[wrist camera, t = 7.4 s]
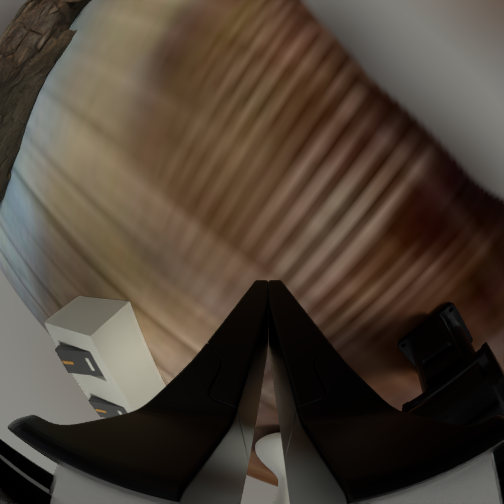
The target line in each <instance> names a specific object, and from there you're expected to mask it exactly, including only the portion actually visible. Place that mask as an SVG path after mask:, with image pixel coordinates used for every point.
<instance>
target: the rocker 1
mask: <svg viewBox="0 0 504 504" xmlns="http://www.w3.org/2000/svg"><path fill="white" fill-rule="evenodd" d="M55 351H56V352H57V354H58V356H59V358H60V359H61V361H62V363H63V365H64V366H65V368H66V369H67V371H68V373H75V374H84V375H93V376H103V374H102V372H101V370H100V369H99V367H98V365H97V363H96V362H95V360H94V358H93V356H92V354H91V352H90V351H87V350H84V349H81V348H78V347H75V346H70V345H58V346H57V348H56V349H55Z"/></svg>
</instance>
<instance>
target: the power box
mask: <svg viewBox="0 0 504 504" xmlns="http://www.w3.org/2000/svg"><path fill="white" fill-rule="evenodd" d="M44 324H45V326H46V328H47V330H48V332H49V334H50V336H51V338H52V340H53V341H54V343H55V345H56V347H57V346H58V345H70V346H75V347H78V348H81V349H84V350H87V351H90V352H91V354H92V356H93V358H94V360H95V362H96V363H97V365H98V367H99V369H100V370H101V372H102V374H103V376H93V375H84V374H75V373H72V374H73V376H74V378H75V379H76V381H77V382H78V384H79V385H80V387H81V388H82V389H83V391H84V393H85V394H86V396H87V397H88V398H89V399H90V397H91V396H95V397H100V398H102V399H105V400H107V401H109V402H112V403H114V404H117V405H119V406H122V407H124V408H125V410H126V411H127V413H129V412H132V411H135V410H137V409H139V408H140V407H142V406H144V405H145V404H147V403H148V402H149V401H150V400H151V399H152V398H154V397H155V396H156V395H157V394H158V393H159V392H160V391H161V390H162V389H163V388H164V387H166V386H165V384H164V382H163V380H162V378H161V376H160V373H159V371H158V369H157V367H156V365H155V363H154V360H153V358H152V356H151V354H150V351H149V349H148V347H147V344H146V342H145V340H144V337H143V335H142V332H141V330H140V327H139V325H138V322H137V320H136V317H135V314H134V312H133V309H132V306H131V303H130V301H122V300H112V299H103V298H94V297H85V296H78V297H76V298H75V299H74V300H72V301H71V302H70V303H68V304H67V305H65V306H64V307H63V308H61V309H60V310H59V311H57V312H56V313H55V314H53V315H52V316H51V317H49V318H48V319H47V320H46V321H44Z"/></svg>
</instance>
